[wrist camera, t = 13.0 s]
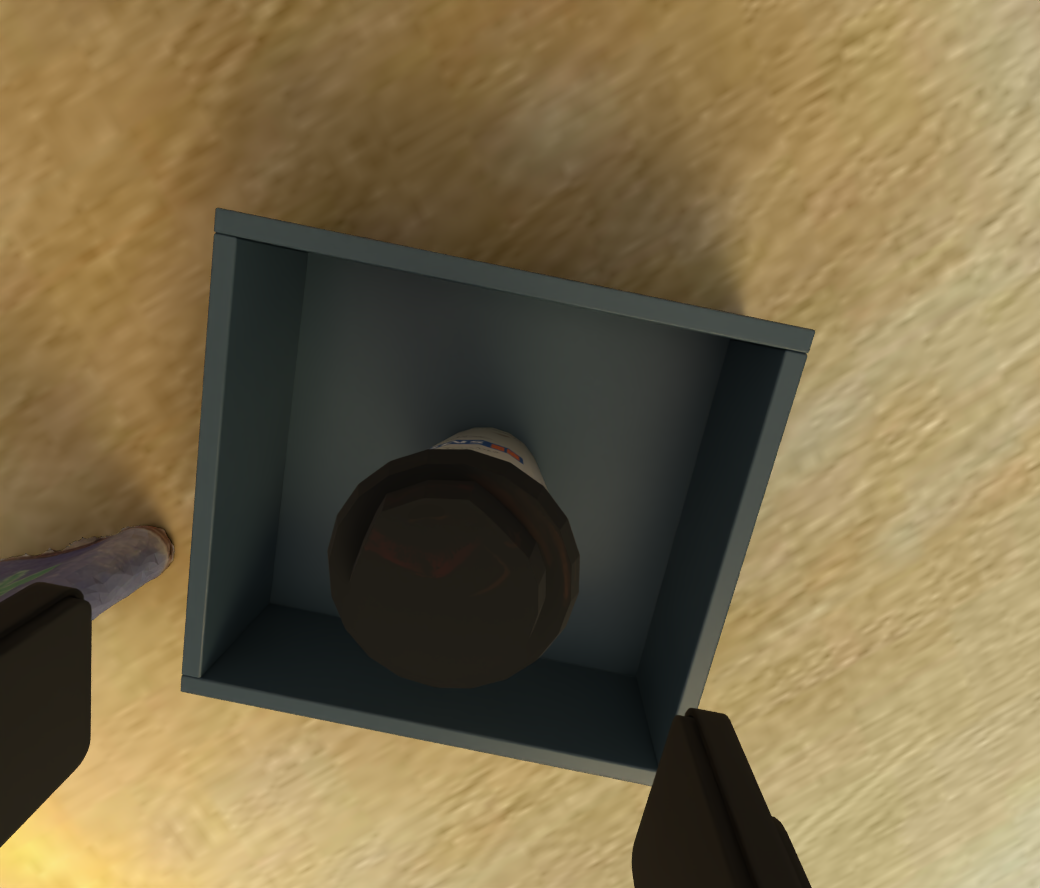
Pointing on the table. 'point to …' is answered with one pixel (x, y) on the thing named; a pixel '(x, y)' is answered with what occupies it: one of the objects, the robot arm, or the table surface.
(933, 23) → the table surface
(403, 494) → the coffee cup
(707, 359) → the tub
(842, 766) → the table surface
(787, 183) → the table surface
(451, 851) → the table surface
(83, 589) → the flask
